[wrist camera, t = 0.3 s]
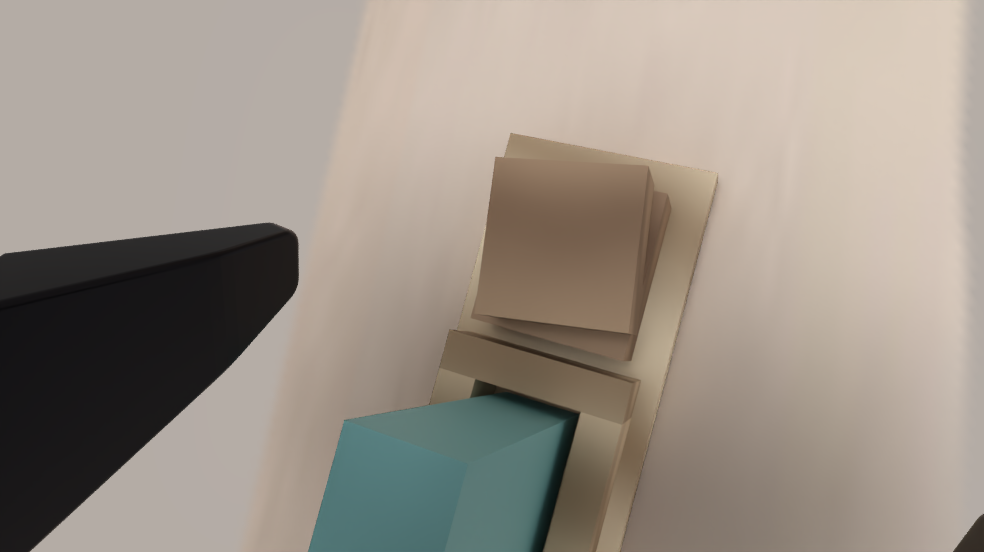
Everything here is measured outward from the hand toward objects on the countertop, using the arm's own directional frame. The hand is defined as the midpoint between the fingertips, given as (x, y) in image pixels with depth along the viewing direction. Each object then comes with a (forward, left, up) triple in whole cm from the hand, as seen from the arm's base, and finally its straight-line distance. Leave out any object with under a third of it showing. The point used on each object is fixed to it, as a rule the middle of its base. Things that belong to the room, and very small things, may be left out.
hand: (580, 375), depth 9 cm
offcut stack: (+3, +2, -14) cm, 15 cm away
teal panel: (-3, +5, -14) cm, 15 cm away
